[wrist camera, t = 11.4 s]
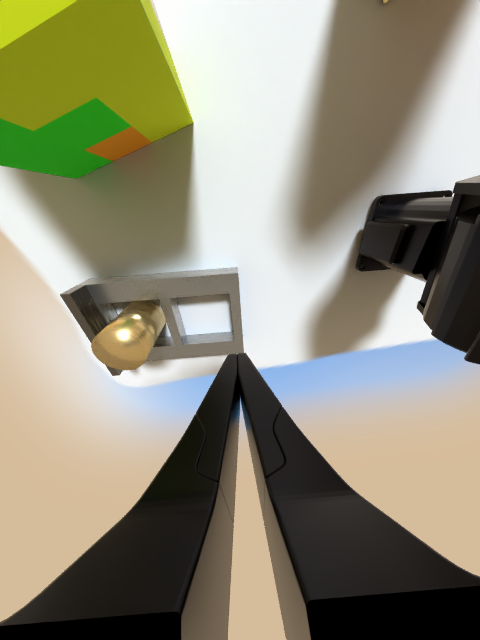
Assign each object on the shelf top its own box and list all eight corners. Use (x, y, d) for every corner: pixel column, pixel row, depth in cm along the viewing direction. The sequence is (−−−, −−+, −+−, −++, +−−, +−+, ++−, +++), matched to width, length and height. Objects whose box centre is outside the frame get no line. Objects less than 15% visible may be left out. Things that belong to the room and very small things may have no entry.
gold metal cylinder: (158, 298, 20) (133, 328, 15) (170, 330, 22) (153, 367, 17) (118, 302, 20) (80, 335, 15) (134, 335, 22) (106, 372, 17)
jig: (237, 267, 18) (239, 280, 15) (242, 343, 24) (244, 364, 21) (89, 278, 18) (59, 294, 15) (128, 352, 24) (112, 375, 21)
